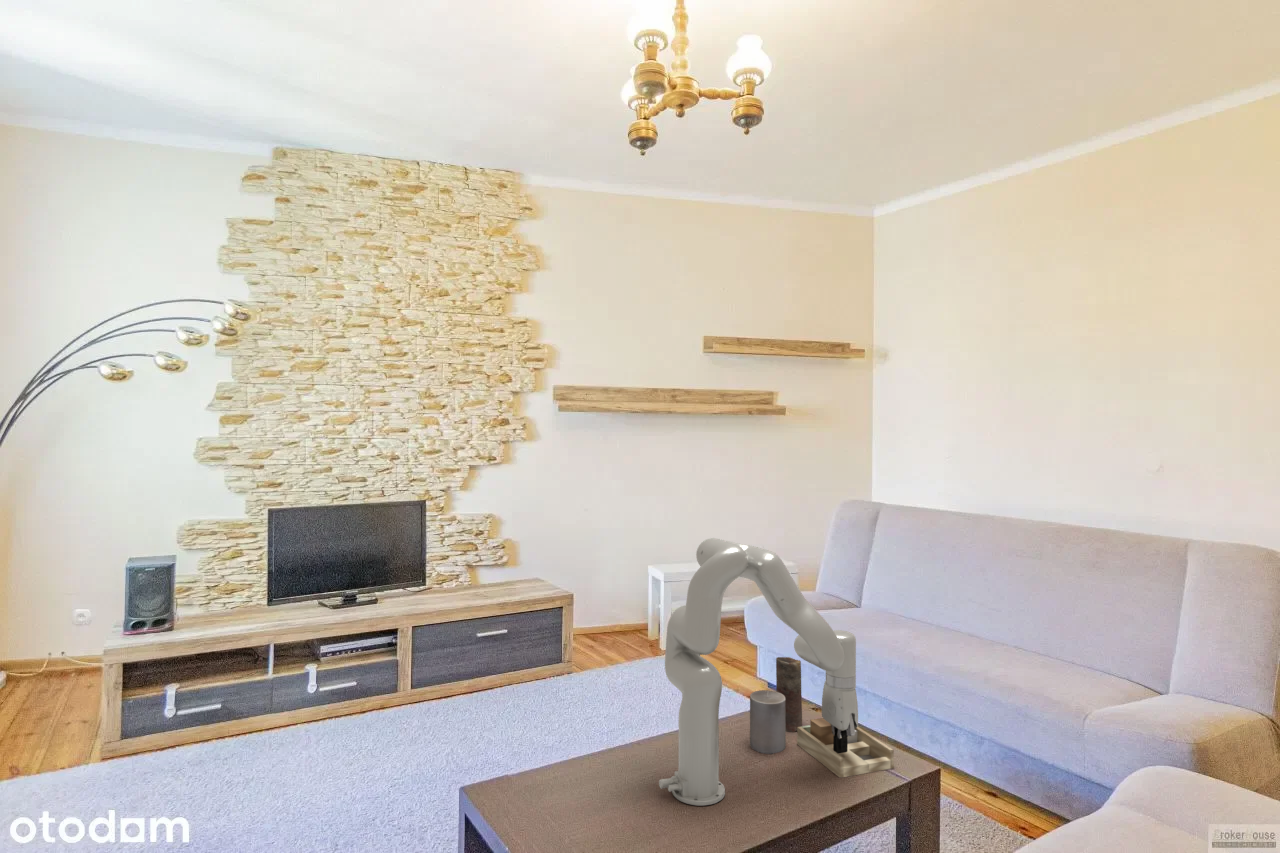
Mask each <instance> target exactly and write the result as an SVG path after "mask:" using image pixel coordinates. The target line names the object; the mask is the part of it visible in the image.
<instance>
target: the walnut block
mask: <svg viewBox="0 0 1280 853" xmlns="http://www.w3.org/2000/svg"><path fill="white" fill-rule="evenodd" d="M809 723H810V734H811V735H813V736H814V737H815V738H817V739H818V740H819V741H821V742H822V743H823V744H825V745H829V744H833V736H834V735H833V734H832V727H831V725H830V723H829V722H827V721H826V720H825V719H824V718H823V717H820V718H814V719H810V722H809Z"/></svg>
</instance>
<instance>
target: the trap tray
mask: <svg viewBox="0 0 1280 853" xmlns="http://www.w3.org/2000/svg"><path fill="white" fill-rule="evenodd" d="M855 730H856V731H857V742H856V743H850V744H848V750H847V752H845V753H839V754H838V753H836V752H835V751H834V750H833V744H829V745H825V744H823V743H822V742H821V741H819V740H818V739H817V738H815V737H814V736H813V735H811V734H810V725H802V726H801V727H797V730H796V735H797V736H796V743H797V746H799V747H800V748H801V749H802V750H803V751H804V752H806V753H808V754H809V755H810V756H811V757H813V758H814V759H815V760H816V761H817V762H819V763H820V764H822V765H823V766H824V767H825V768H826V769H828V770H829V771H830V772H832V773H833V774H834V775H836V776H837V777H838V778H839V779H841V778H842V779H843V778H849V777H853V776H859V775H864V774H871V773H875V772H880V771H887V770H892V769H895V766H894V764H895V760H894V759H895V758H894V757H895V753H894V752H895V751H894V750H895V749H894V748H892V747H890V746H889V745H887V744H886V743H884V742H882V741H881V740H880V739H878V738H876V737H875V736H873V735H872V734H870V733H869V732H867V731H865V730H864V729H863V728H861V727H860V726H859V725H858V726H857V728H856V729H855Z"/></svg>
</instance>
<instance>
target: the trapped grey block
mask: <svg viewBox="0 0 1280 853" xmlns="http://www.w3.org/2000/svg"><path fill="white" fill-rule="evenodd" d="M856 742H857V731H856V730H855V736H849V737H848V744H850V743H856Z"/></svg>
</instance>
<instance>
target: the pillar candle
mask: <svg viewBox="0 0 1280 853" xmlns="http://www.w3.org/2000/svg"><path fill="white" fill-rule="evenodd" d="M785 711H786V710H785V696H784V695H783V694H781V693H779V692H776V691H775V690H770V689H768V690H767V689H762V690H761V689H760V690H756V691H752V693H750V694H749V746H750V747H751V749H752V750H753V751H755V752H757V753H761V754H766V755H767V754H769V755H773V754H777V753H781V752H783V751H784V750H785V749H786V747H787V746H786V741H787V740H786V736H787V735H786V733H787V732H786V723H785V713H786V712H785Z"/></svg>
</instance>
